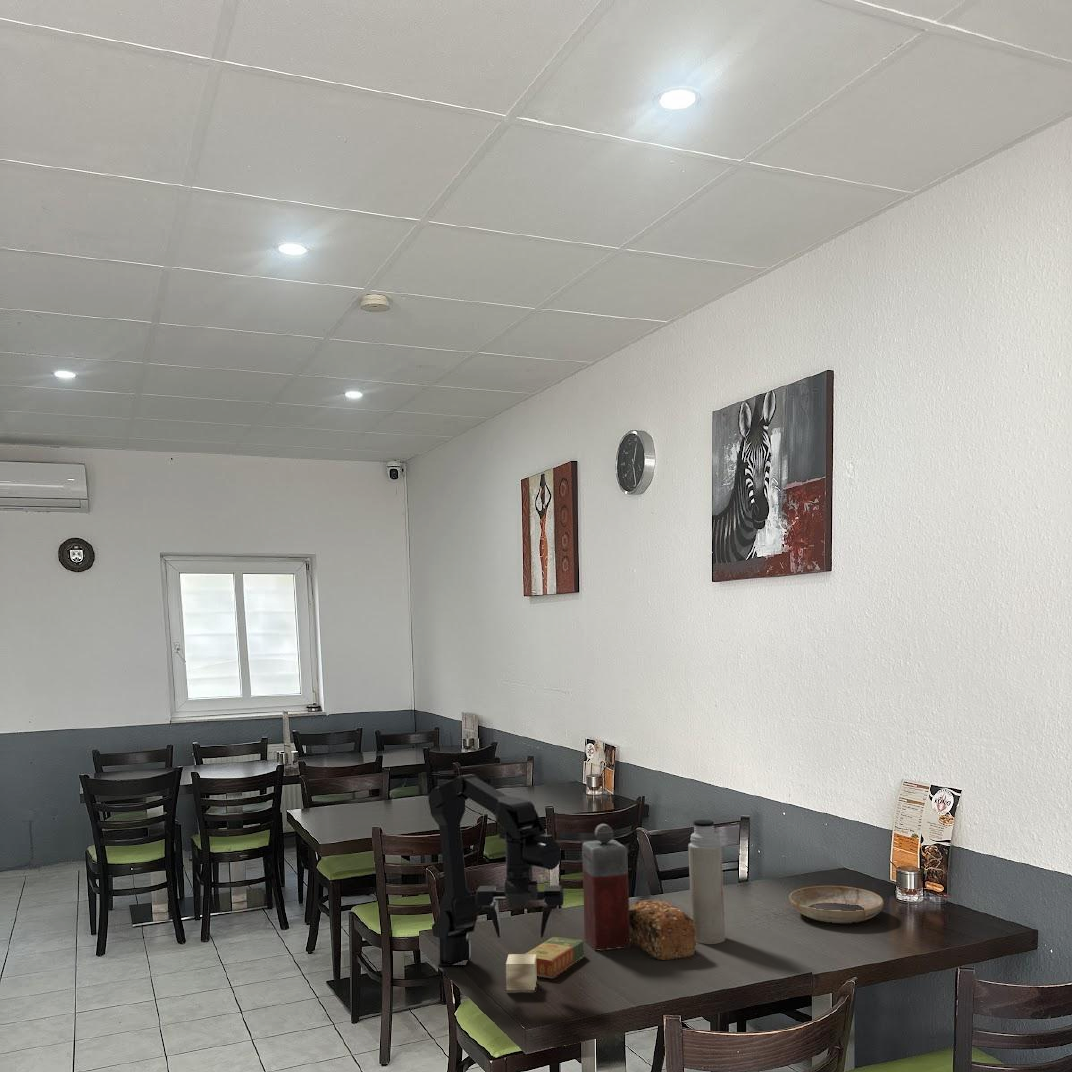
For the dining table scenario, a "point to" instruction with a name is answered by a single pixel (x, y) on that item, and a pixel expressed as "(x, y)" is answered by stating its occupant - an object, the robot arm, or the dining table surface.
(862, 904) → the ceramic bowl
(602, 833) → the red sauce bottle
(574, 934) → the dining table surface
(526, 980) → the beech cube
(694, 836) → the thermos bottle
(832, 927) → the dining table surface
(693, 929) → the bread
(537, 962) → the carton
